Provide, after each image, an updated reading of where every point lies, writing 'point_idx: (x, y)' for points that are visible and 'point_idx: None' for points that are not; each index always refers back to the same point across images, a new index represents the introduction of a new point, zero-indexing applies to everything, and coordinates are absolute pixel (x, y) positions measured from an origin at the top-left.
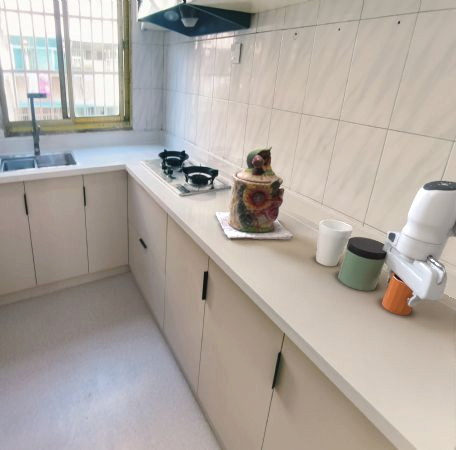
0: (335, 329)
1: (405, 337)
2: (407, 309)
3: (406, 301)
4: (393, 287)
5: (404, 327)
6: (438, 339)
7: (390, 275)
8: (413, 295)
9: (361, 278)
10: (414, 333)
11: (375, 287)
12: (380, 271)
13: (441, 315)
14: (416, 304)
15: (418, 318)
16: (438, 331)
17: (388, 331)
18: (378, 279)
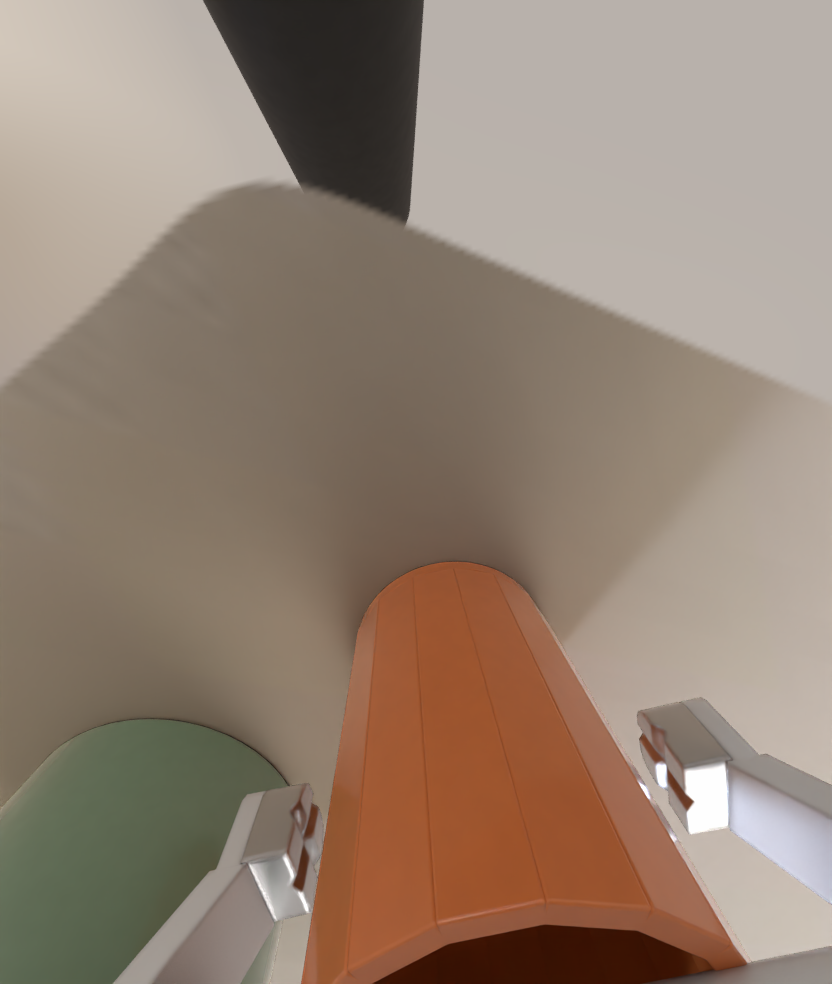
0: (776, 945)
1: (793, 665)
2: (562, 647)
3: (658, 779)
4: (561, 961)
5: (688, 646)
6: (784, 469)
7: (246, 956)
8: (644, 784)
9: (274, 960)
10: (742, 604)
11: (208, 733)
12: (126, 958)
13: (433, 316)
14: (725, 727)
15: (548, 527)
16: (686, 433)
17: (749, 739)
18: (151, 798)
